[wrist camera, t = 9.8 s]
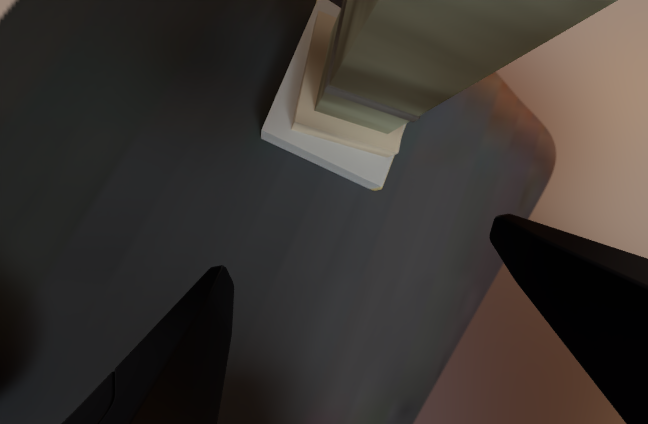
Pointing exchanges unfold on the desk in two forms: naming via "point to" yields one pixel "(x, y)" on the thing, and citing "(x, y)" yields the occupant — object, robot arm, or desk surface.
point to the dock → (317, 150)
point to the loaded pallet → (413, 60)
